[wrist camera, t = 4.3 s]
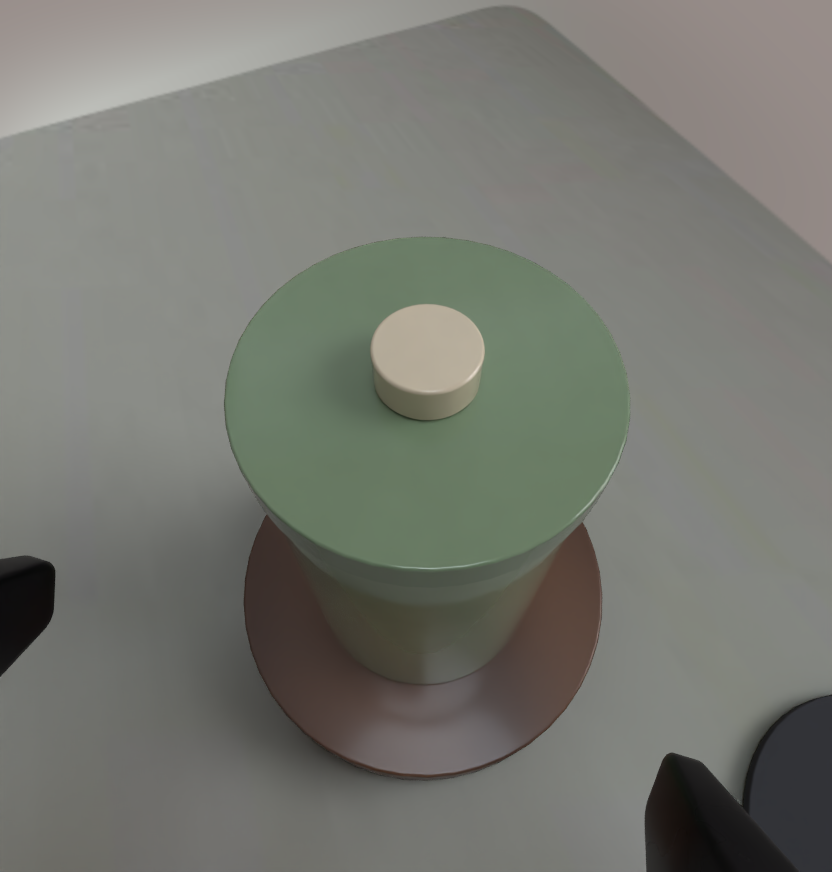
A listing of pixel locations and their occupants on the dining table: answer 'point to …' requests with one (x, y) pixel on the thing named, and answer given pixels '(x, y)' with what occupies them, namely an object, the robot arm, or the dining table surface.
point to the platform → (413, 703)
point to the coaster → (796, 785)
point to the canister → (426, 441)
